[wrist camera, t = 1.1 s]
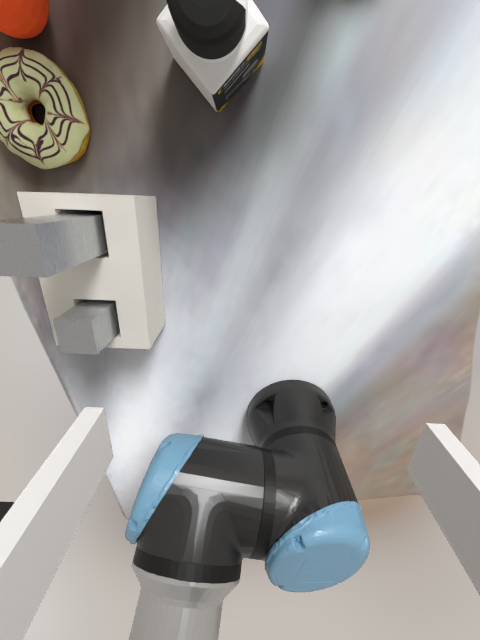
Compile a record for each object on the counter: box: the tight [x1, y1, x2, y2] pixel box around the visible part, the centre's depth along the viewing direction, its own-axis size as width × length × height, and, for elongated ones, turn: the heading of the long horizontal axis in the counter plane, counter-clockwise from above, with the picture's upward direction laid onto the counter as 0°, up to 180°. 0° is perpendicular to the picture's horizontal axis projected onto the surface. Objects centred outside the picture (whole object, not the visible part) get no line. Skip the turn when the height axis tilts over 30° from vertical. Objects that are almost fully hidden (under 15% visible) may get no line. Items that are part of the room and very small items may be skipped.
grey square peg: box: [53, 299, 120, 355], centre depth 36 cm, size 4×4×13 cm
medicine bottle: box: [157, 0, 269, 112], centre depth 25 cm, size 7×7×12 cm
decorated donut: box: [0, 47, 91, 169], centre depth 32 cm, size 10×11×4 cm
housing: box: [17, 192, 166, 349], centre depth 36 cm, size 12×18×8 cm, turn 178°
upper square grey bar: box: [0, 211, 108, 278], centre depth 30 cm, size 4×4×18 cm
